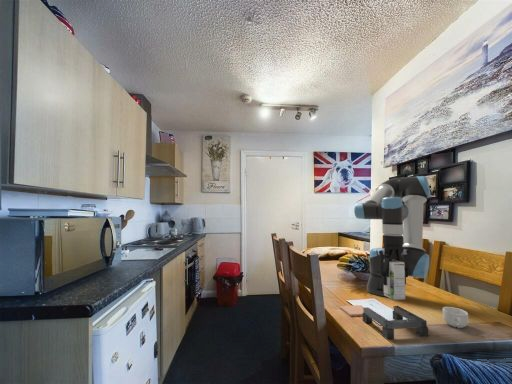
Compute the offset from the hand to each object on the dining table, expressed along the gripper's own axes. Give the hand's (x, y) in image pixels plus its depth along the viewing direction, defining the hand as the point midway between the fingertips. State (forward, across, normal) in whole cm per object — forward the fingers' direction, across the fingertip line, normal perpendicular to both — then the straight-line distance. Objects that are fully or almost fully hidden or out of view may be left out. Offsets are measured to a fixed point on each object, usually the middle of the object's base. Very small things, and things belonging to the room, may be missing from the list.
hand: (394, 292), depth 102 cm
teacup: (+10, -18, +9) cm, 23 cm away
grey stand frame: (+10, +6, +7) cm, 14 cm away
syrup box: (+2, 0, 0) cm, 2 cm away
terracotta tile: (+10, +12, -9) cm, 18 cm away
